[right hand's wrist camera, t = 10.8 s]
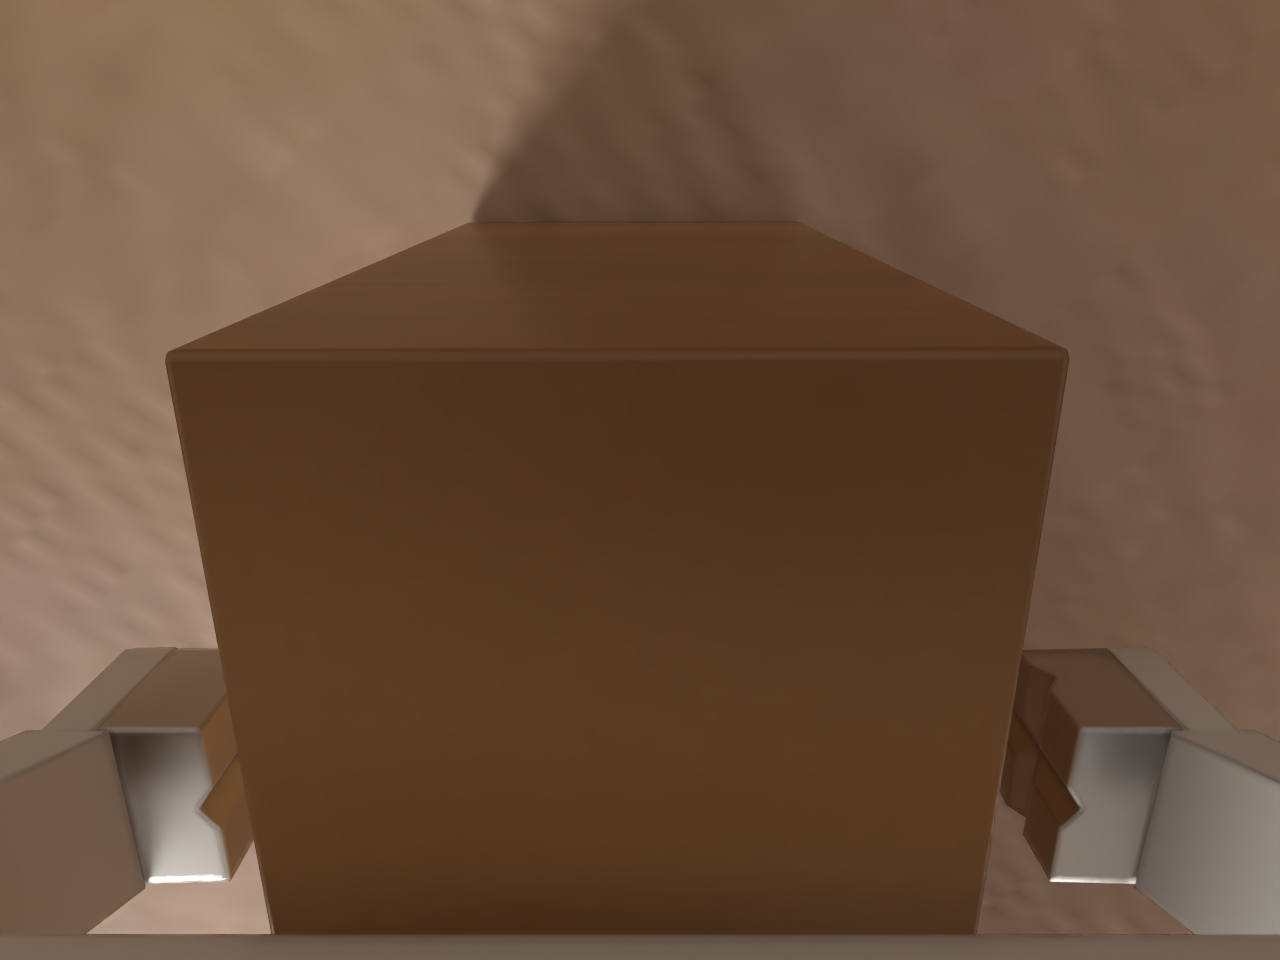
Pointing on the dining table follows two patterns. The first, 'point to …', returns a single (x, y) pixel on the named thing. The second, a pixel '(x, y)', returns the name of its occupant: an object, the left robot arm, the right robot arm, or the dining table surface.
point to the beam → (621, 582)
